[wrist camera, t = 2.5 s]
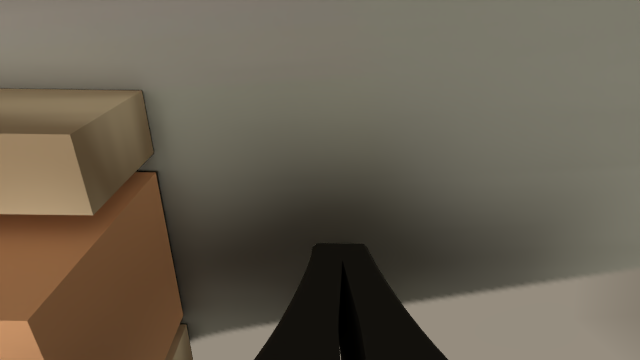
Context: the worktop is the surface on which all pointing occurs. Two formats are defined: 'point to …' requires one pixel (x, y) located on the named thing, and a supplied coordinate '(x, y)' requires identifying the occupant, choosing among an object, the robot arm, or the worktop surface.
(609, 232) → the worktop surface
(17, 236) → the block
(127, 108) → the beige upright blocks
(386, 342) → the robot arm
